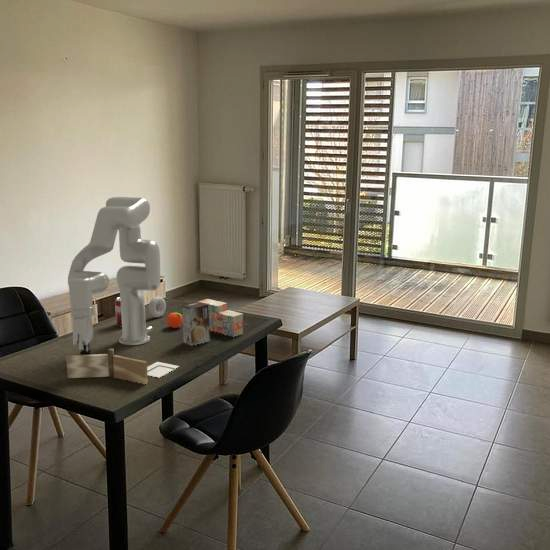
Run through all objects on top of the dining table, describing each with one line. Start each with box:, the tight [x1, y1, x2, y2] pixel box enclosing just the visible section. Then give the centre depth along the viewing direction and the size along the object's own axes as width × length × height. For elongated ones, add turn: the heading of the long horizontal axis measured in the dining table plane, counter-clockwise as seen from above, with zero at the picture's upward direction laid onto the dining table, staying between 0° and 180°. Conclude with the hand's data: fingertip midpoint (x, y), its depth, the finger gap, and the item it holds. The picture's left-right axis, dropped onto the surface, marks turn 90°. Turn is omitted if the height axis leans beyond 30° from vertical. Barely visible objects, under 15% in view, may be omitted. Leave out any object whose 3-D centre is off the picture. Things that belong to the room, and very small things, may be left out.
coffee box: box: [181, 301, 211, 347], centre depth 257 cm, size 9×6×16 cm
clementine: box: [166, 311, 183, 329], centre depth 277 cm, size 8×7×7 cm
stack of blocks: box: [197, 298, 244, 338], centre depth 272 cm, size 21×6×12 cm, turn 50°
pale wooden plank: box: [65, 353, 110, 379], centre depth 221 cm, size 14×1×8 cm, turn 96°
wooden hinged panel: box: [107, 348, 149, 385], centre depth 219 cm, size 2×16×10 cm, turn 63°
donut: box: [148, 296, 167, 319], centre depth 292 cm, size 10×4×10 cm, turn 145°
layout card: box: [147, 361, 180, 379], centre depth 229 cm, size 12×10×1 cm
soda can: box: [114, 297, 122, 328], centre depth 280 cm, size 7×7×12 cm
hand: (86, 360), depth 224 cm, fingers closed
